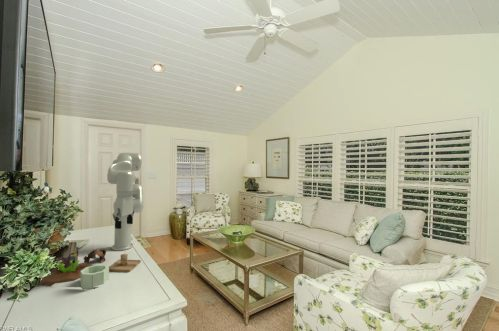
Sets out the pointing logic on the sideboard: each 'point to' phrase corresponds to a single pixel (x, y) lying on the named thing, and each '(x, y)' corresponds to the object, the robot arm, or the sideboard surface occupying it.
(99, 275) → the bowl
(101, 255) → the brown animal figurine
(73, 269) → the plant
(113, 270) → the lid
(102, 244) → the sideboard surface
